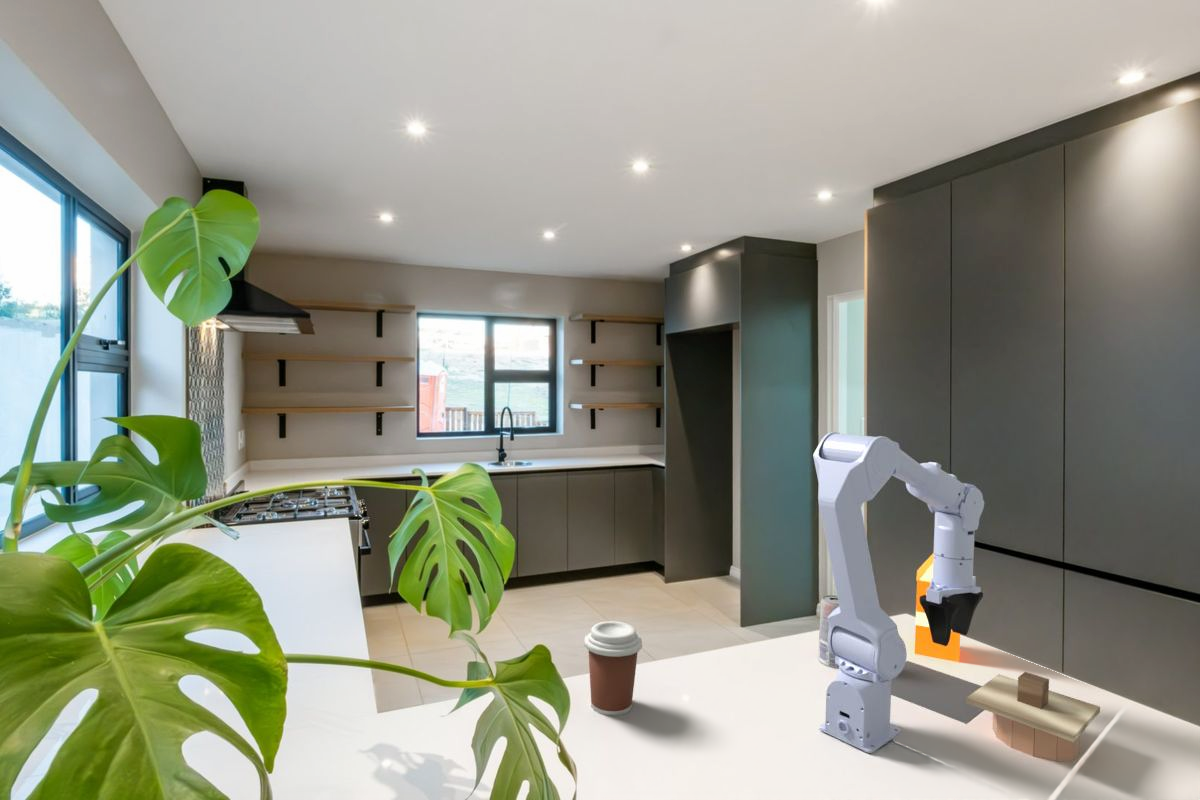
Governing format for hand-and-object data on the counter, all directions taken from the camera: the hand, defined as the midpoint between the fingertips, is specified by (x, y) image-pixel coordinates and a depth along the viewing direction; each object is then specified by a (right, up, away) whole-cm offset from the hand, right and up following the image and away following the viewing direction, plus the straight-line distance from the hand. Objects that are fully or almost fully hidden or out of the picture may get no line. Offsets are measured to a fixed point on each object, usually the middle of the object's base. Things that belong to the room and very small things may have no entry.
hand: (950, 638), depth 104 cm
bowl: (+6, -11, -12) cm, 17 cm away
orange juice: (+9, -11, +21) cm, 25 cm away
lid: (+6, -6, -12) cm, 14 cm away
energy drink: (-14, -10, +13) cm, 22 cm away
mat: (-1, -10, +4) cm, 11 cm away
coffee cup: (-55, -9, -4) cm, 56 cm away
